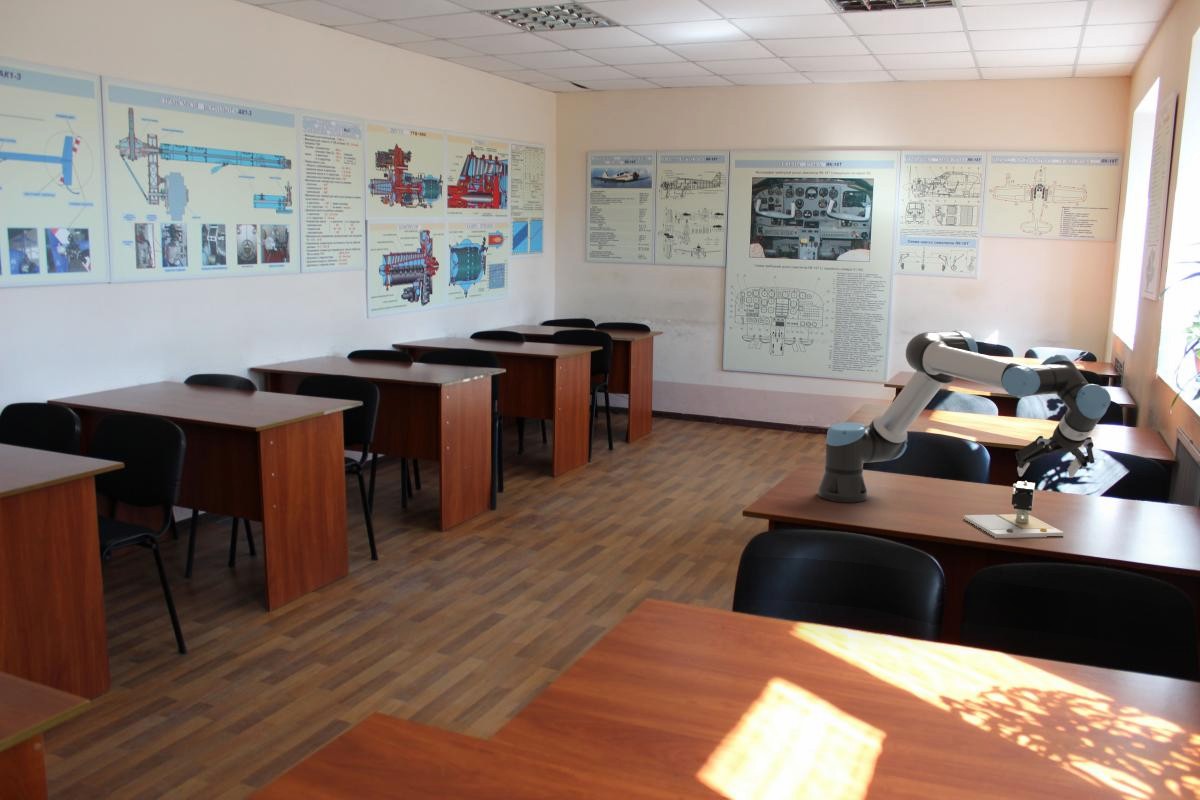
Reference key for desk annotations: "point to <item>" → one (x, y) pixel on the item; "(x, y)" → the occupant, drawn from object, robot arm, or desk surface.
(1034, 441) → the robot arm
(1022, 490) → the pneumatic valve
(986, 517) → the board
